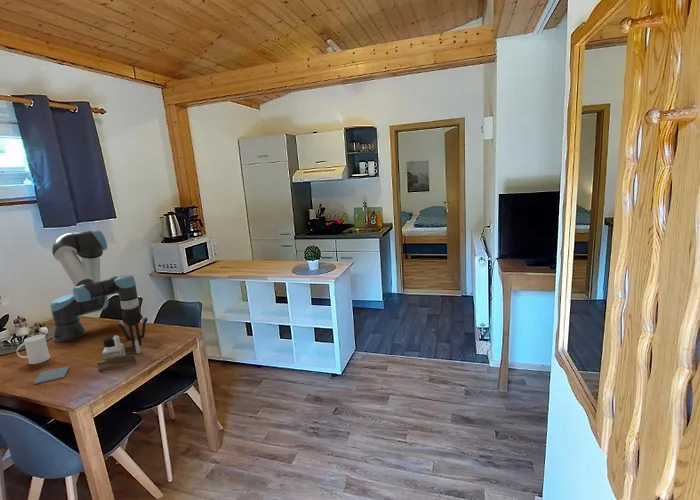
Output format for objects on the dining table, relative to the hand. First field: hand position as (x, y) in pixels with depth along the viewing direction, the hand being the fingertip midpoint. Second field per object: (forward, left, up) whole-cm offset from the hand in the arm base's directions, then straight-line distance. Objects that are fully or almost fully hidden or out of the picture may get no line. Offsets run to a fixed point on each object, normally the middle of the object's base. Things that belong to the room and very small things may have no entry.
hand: (138, 351), depth 185 cm
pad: (0, -35, -2) cm, 35 cm away
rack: (0, -9, -2) cm, 9 cm away
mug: (-23, -47, -3) cm, 52 cm away
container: (+1, -10, -3) cm, 10 cm away
